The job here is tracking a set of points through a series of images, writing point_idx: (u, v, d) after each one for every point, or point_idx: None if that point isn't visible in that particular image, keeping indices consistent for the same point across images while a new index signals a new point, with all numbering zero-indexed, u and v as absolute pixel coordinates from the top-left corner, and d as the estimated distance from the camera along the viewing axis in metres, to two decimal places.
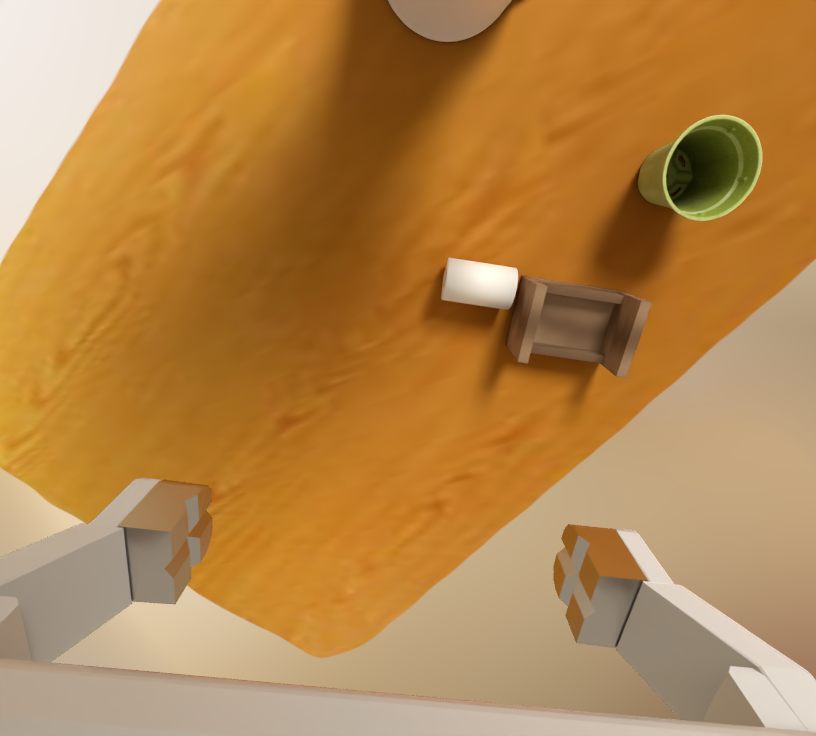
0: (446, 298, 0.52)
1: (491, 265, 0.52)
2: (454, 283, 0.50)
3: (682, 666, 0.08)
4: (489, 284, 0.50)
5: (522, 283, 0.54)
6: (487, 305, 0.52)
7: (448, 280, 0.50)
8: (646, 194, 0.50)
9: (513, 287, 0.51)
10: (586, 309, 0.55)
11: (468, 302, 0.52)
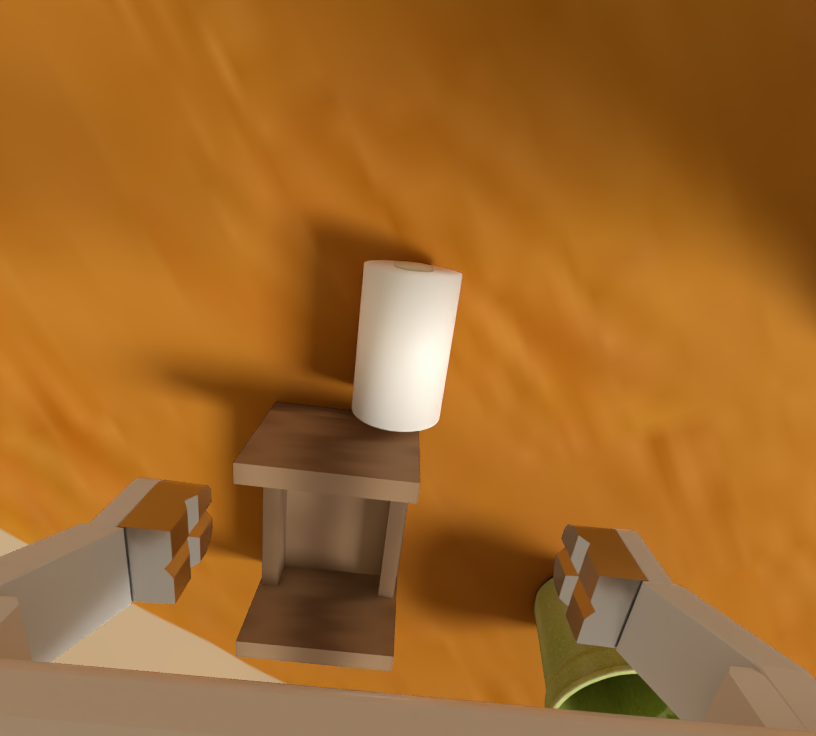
0: (370, 276, 0.21)
1: (446, 369, 0.24)
2: (410, 294, 0.20)
3: (682, 666, 0.08)
4: (410, 375, 0.22)
5: None
6: (359, 370, 0.23)
7: (417, 279, 0.20)
8: None
9: (405, 425, 0.23)
10: (361, 536, 0.30)
11: (363, 328, 0.22)
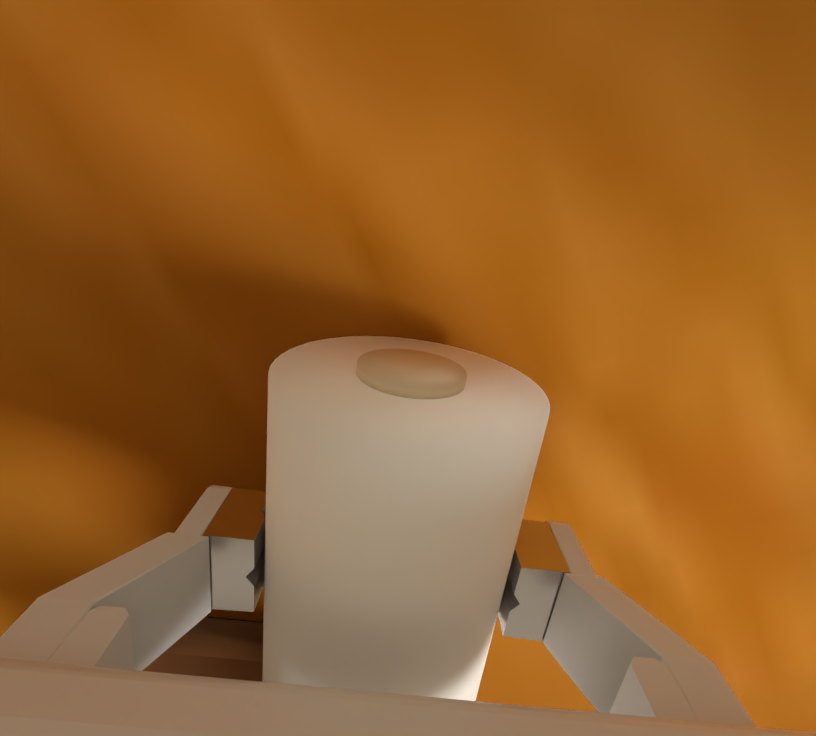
0: (278, 421, 0.07)
1: None
2: (402, 499, 0.06)
3: (599, 658, 0.08)
4: None
5: None
6: (268, 640, 0.09)
7: (426, 455, 0.06)
8: None
9: None
10: None
11: (270, 548, 0.08)
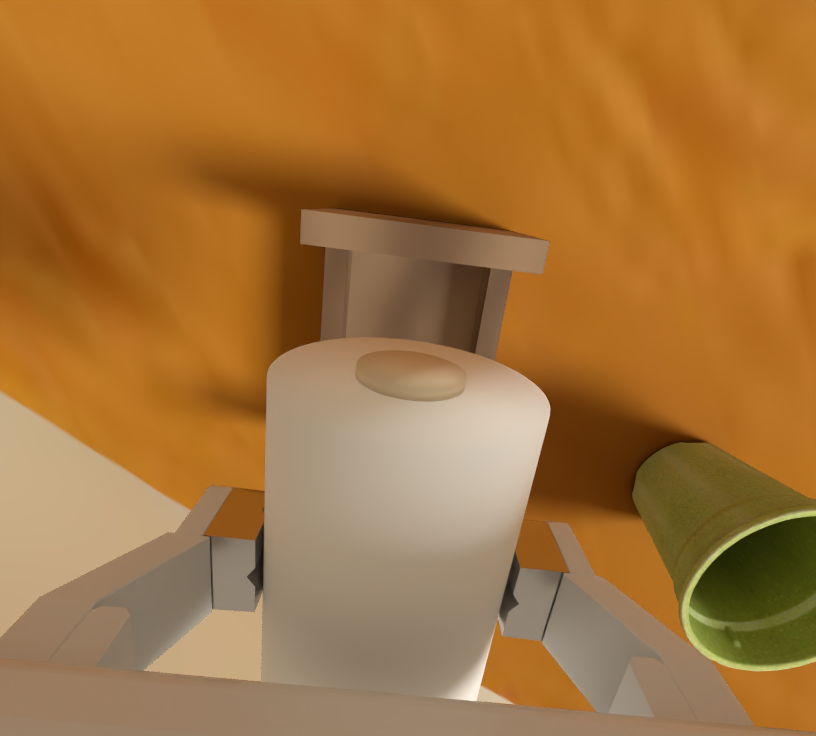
0: (276, 423, 0.07)
1: None
2: (401, 502, 0.06)
3: (598, 658, 0.08)
4: None
5: None
6: (266, 643, 0.09)
7: (425, 458, 0.06)
8: (671, 464, 0.25)
9: None
10: None
11: (269, 550, 0.08)
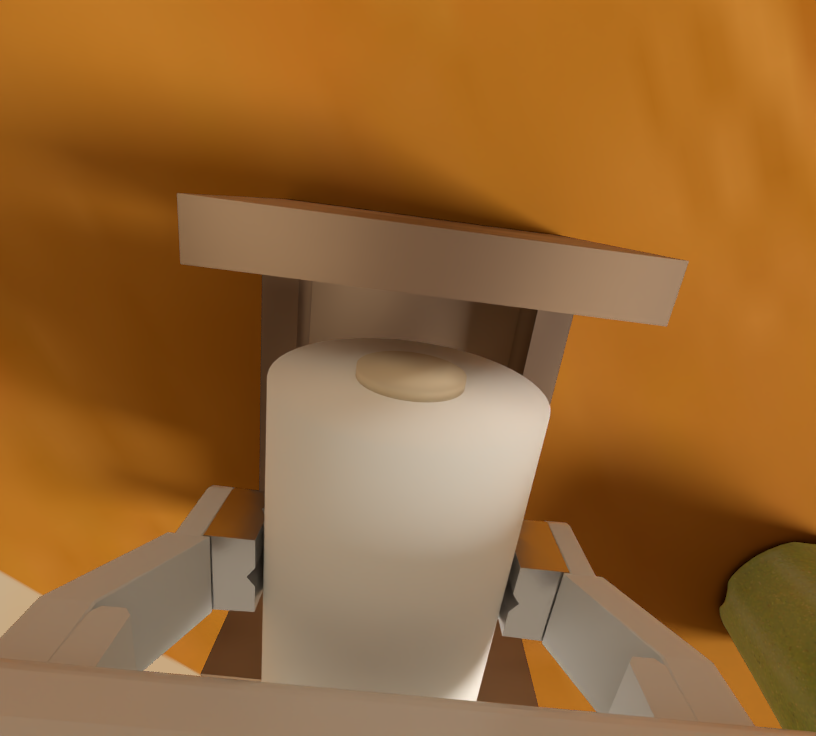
0: (276, 424, 0.07)
1: None
2: (401, 503, 0.06)
3: (598, 658, 0.08)
4: None
5: None
6: (266, 643, 0.09)
7: (425, 459, 0.06)
8: (792, 582, 0.17)
9: None
10: None
11: (269, 551, 0.08)
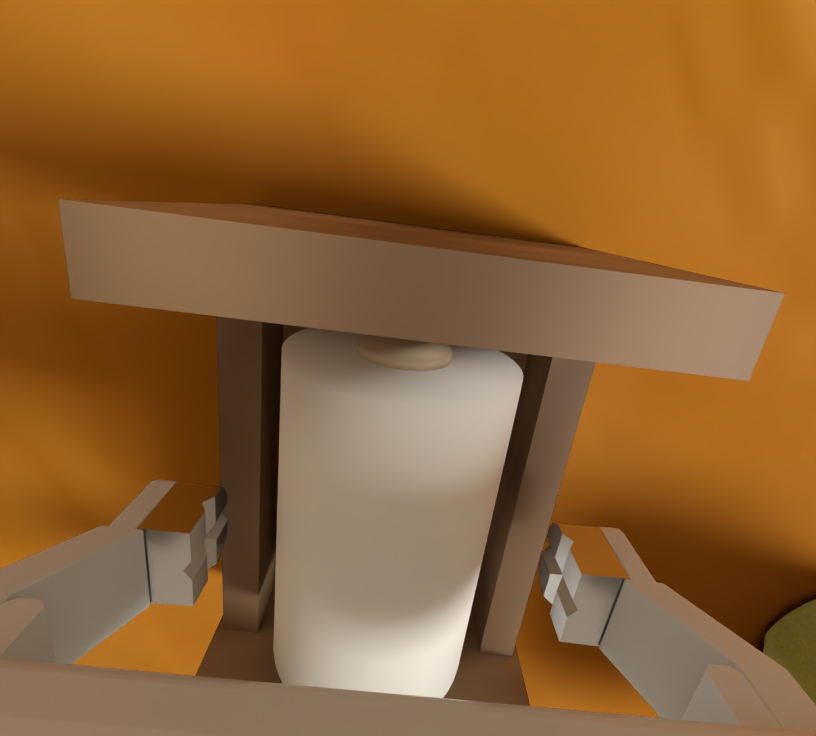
0: (287, 384, 0.08)
1: (477, 574, 0.10)
2: (384, 448, 0.07)
3: (663, 664, 0.08)
4: (388, 626, 0.09)
5: (568, 247, 0.11)
6: (278, 580, 0.10)
7: (403, 410, 0.07)
8: None
9: None
10: None
11: (281, 496, 0.09)
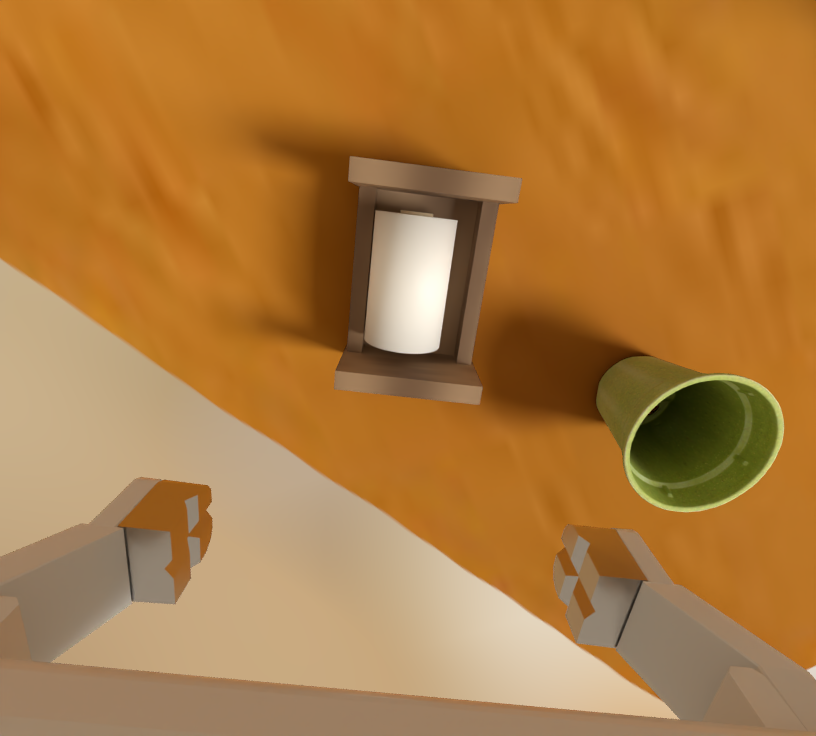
0: (376, 218, 0.26)
1: (441, 304, 0.27)
2: (402, 230, 0.25)
3: (682, 666, 0.08)
4: (402, 301, 0.26)
5: None
6: (368, 299, 0.28)
7: (407, 217, 0.25)
8: (623, 370, 0.32)
9: (399, 346, 0.27)
10: None
11: (371, 263, 0.27)
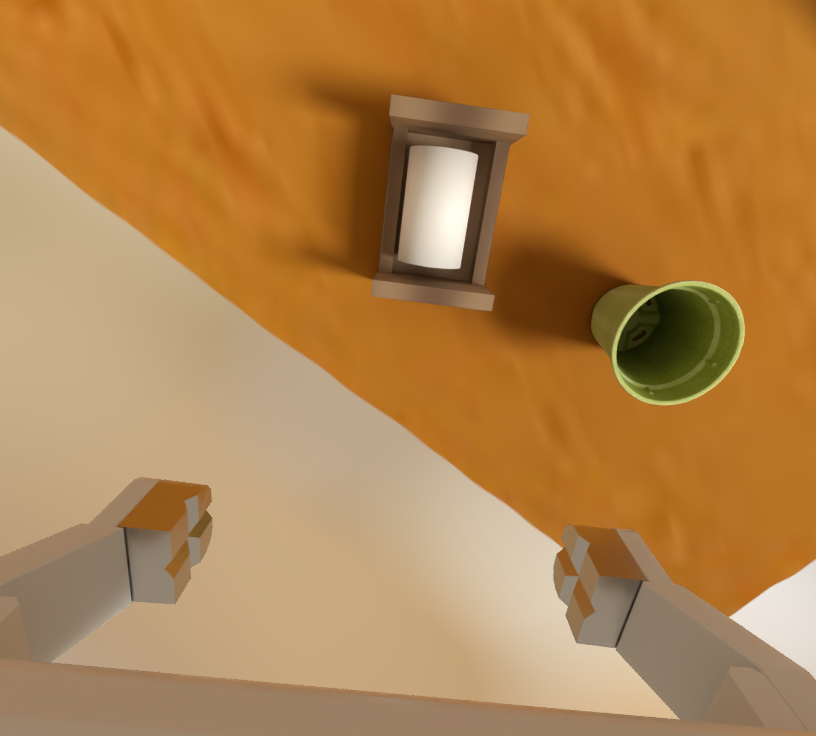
0: (412, 152, 0.31)
1: (464, 227, 0.33)
2: (436, 160, 0.30)
3: (682, 666, 0.08)
4: (435, 222, 0.32)
5: None
6: (402, 224, 0.33)
7: (441, 149, 0.30)
8: (614, 294, 0.38)
9: (430, 261, 0.33)
10: None
11: (406, 192, 0.33)
